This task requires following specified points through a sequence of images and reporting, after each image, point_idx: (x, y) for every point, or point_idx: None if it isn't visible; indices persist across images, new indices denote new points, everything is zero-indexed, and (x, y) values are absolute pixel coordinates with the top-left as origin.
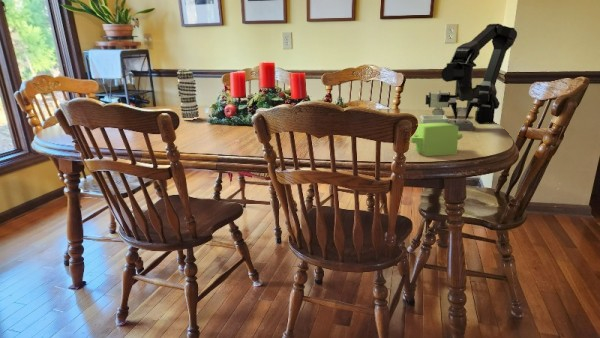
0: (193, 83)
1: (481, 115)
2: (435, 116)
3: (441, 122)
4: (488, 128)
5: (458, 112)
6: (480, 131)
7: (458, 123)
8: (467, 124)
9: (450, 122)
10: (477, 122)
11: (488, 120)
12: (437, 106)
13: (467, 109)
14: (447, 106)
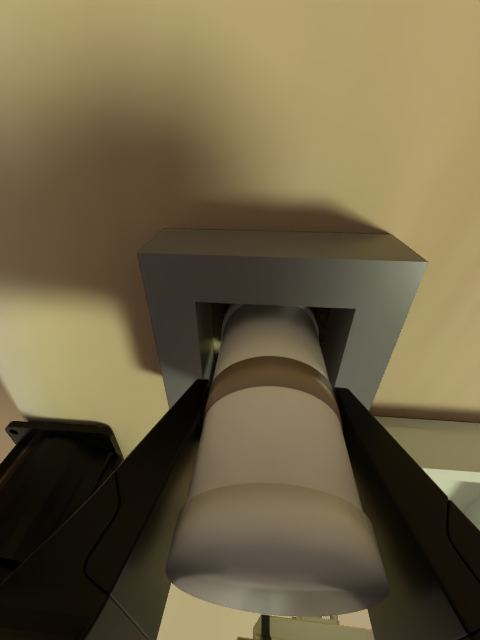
0: None
1: (67, 491)
2: None
3: (397, 438)
4: (22, 291)
5: (345, 464)
6: (80, 150)
7: (326, 289)
8: (214, 252)
9: (381, 369)
10: (117, 443)
11: (38, 444)
12: (333, 632)
13: (162, 525)
14: (272, 623)
